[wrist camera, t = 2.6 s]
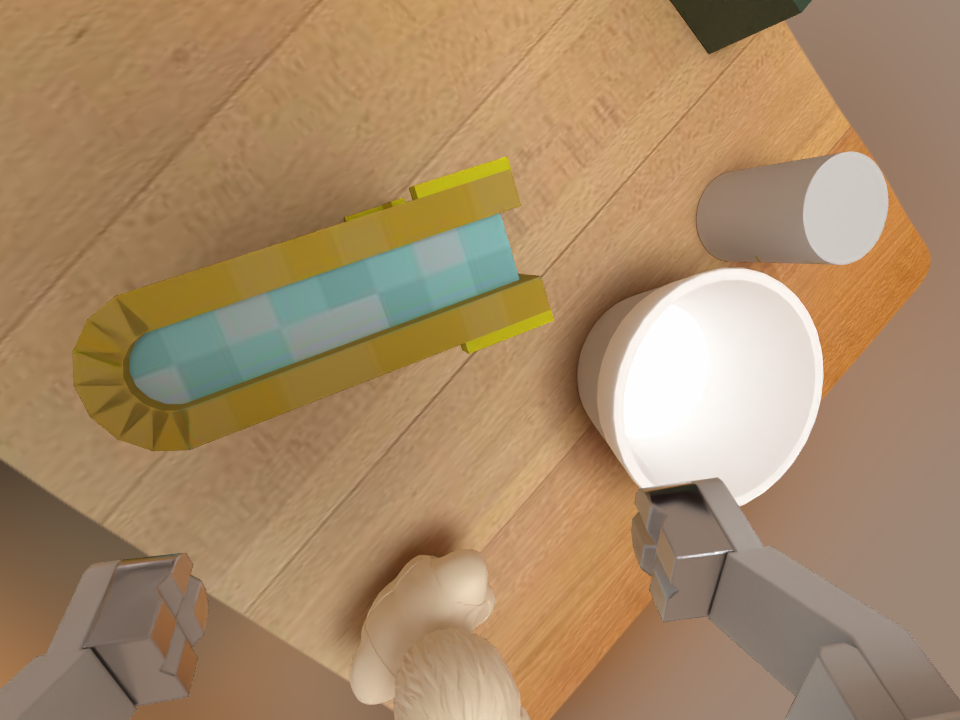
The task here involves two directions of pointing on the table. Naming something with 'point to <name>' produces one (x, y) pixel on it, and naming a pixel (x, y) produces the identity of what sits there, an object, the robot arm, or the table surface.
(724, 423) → the bowl
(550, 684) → the table surface
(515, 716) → the figurine
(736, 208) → the gray cylinder
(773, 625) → the robot arm
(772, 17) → the dark green rectangular block
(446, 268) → the book
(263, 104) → the table surface
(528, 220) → the table surface
